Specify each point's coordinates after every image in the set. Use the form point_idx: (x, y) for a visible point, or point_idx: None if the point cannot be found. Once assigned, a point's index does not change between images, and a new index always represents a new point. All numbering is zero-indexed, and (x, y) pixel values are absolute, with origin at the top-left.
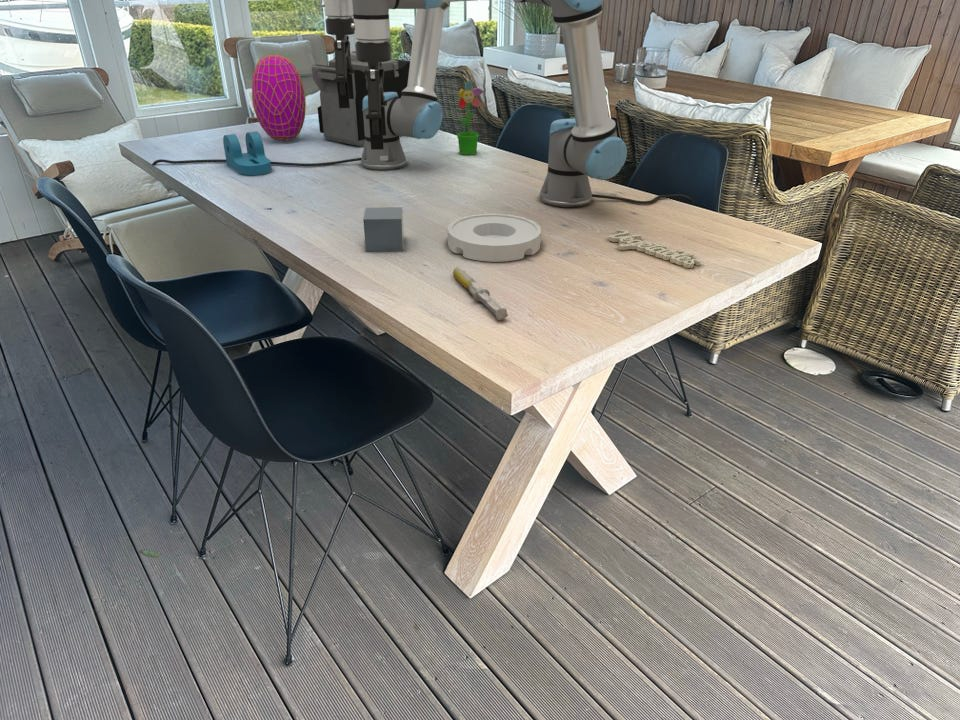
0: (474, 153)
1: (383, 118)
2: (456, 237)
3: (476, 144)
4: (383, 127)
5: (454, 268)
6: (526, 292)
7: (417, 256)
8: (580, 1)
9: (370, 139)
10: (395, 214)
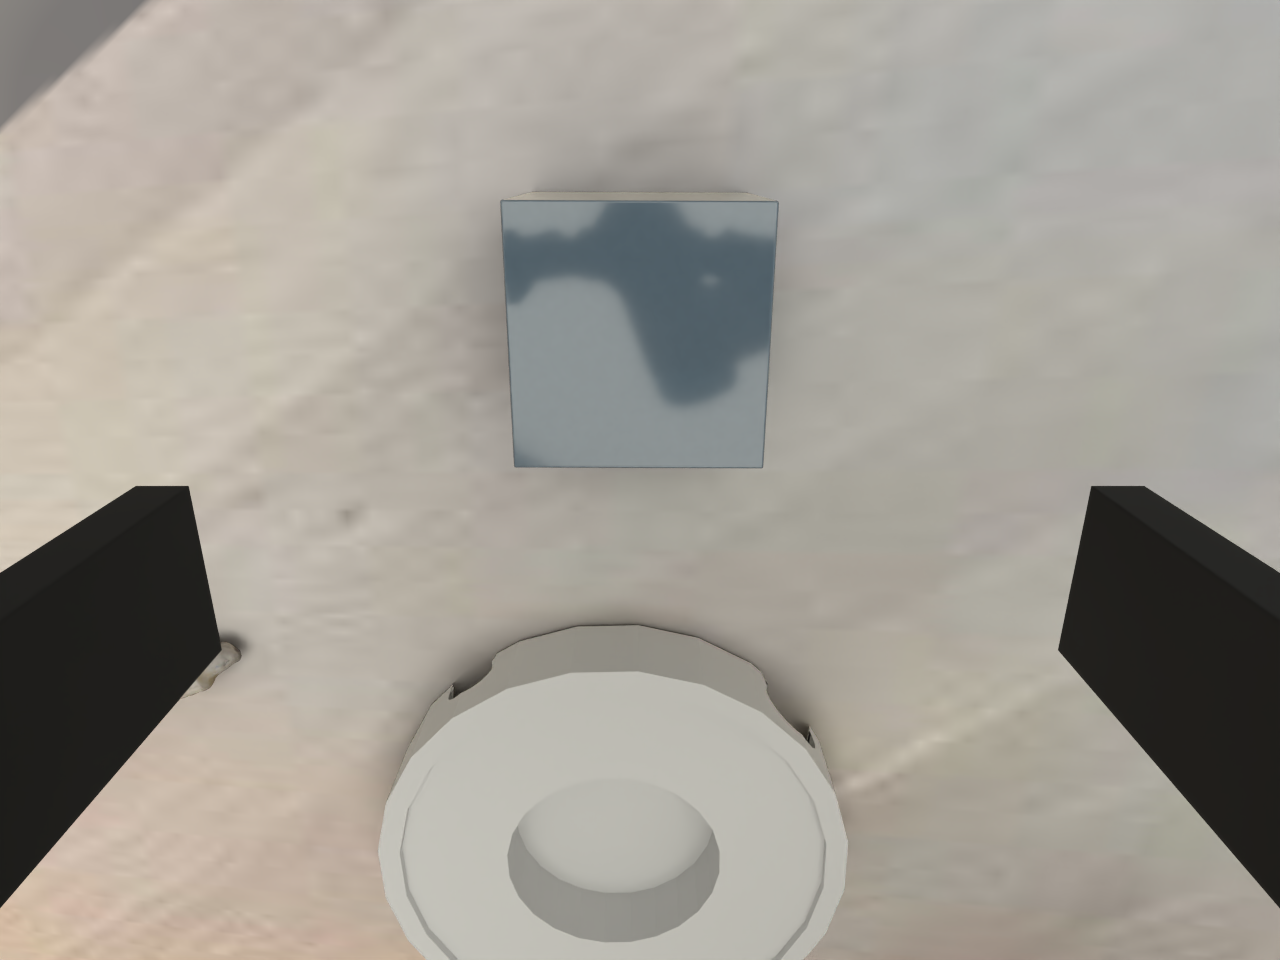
0: None
1: (1228, 817)
2: (484, 706)
3: None
4: (1132, 694)
5: (216, 657)
6: (109, 870)
7: (466, 479)
8: None
9: (34, 552)
10: (605, 426)
